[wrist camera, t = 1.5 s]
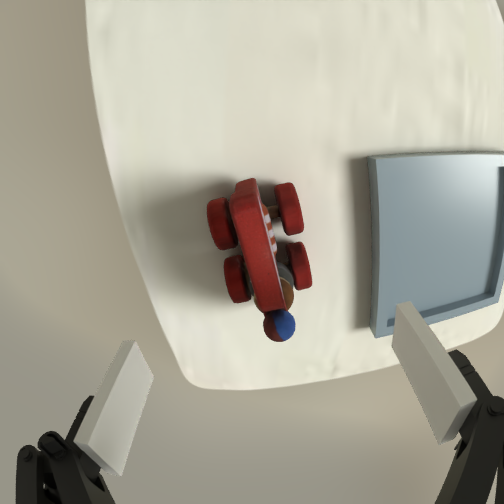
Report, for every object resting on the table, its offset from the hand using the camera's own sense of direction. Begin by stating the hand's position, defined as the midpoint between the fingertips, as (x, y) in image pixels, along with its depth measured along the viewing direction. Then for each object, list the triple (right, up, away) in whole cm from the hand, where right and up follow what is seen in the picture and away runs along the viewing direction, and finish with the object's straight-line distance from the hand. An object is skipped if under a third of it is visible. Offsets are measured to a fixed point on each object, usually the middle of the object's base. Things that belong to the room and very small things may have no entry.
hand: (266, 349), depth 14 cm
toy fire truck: (0, +6, +13) cm, 14 cm away
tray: (+19, +6, +12) cm, 24 cm away
